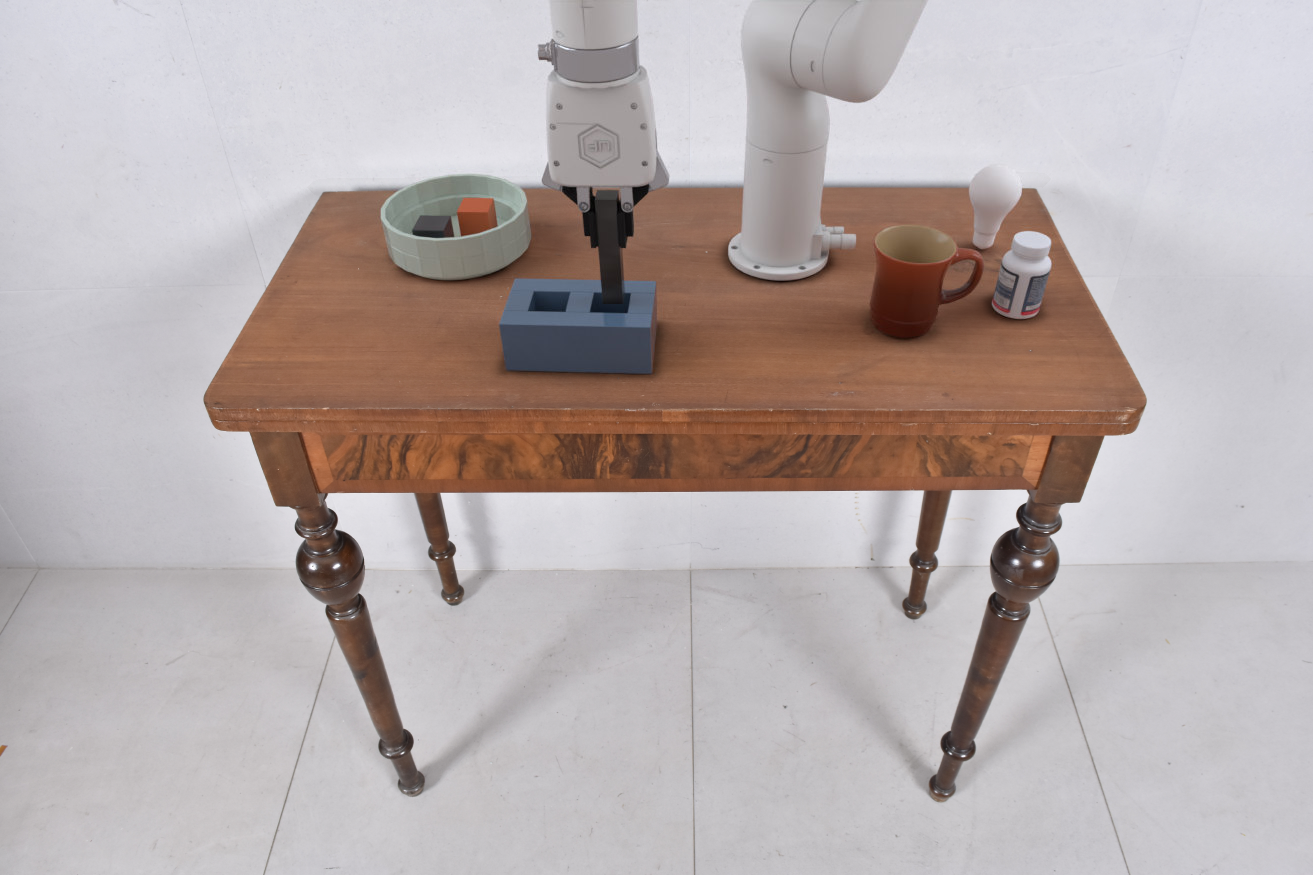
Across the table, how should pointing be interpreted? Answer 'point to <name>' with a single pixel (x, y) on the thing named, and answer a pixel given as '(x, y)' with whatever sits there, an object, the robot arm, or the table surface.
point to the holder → (578, 327)
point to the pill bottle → (1023, 276)
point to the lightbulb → (992, 201)
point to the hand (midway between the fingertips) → (609, 240)
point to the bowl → (456, 227)
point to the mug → (915, 278)
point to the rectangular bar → (609, 247)
